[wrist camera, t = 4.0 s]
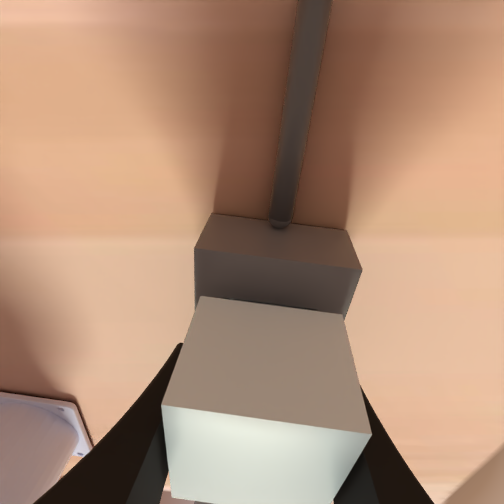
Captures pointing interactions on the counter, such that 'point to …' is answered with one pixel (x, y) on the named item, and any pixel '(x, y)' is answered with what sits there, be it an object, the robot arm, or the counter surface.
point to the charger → (263, 406)
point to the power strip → (283, 211)
